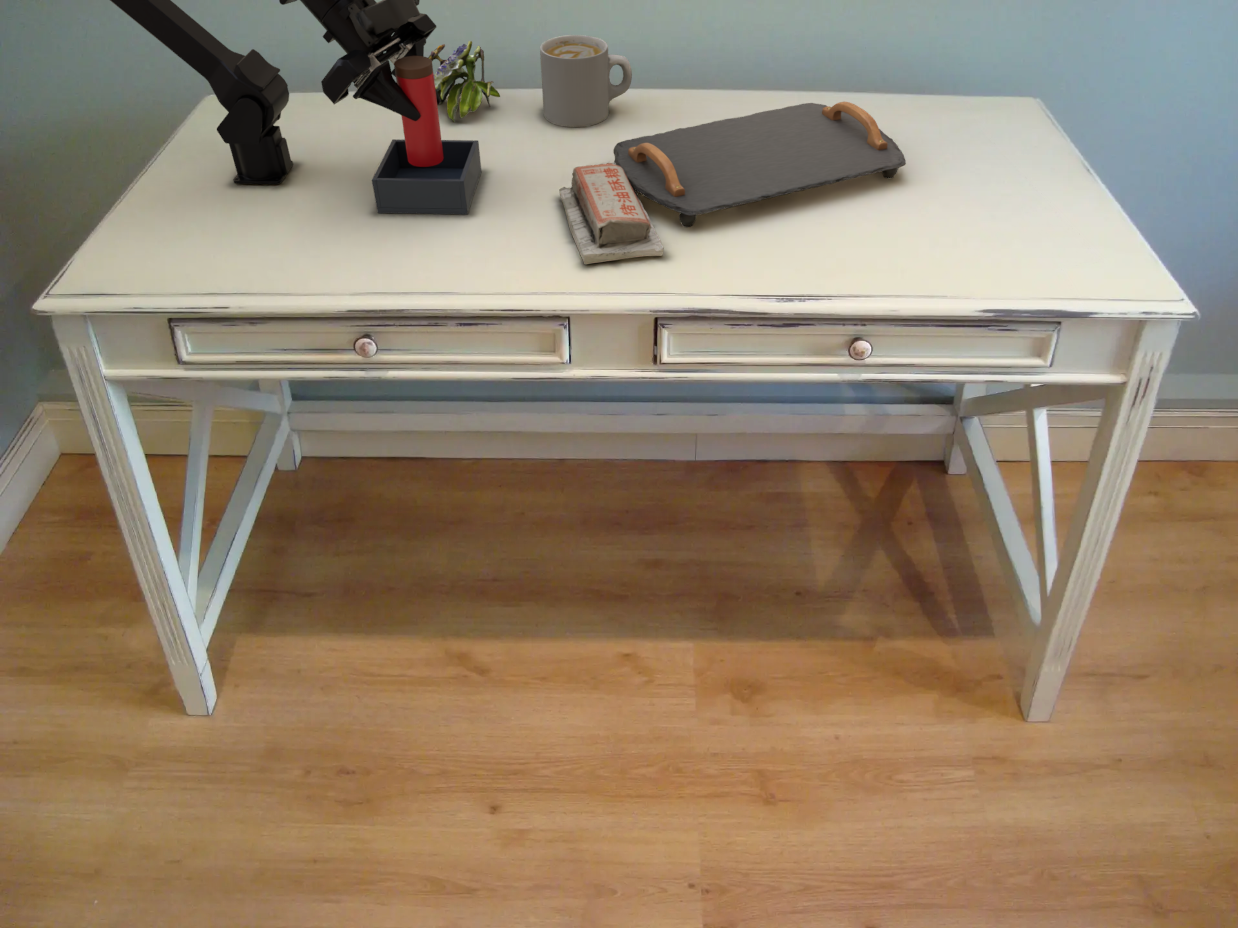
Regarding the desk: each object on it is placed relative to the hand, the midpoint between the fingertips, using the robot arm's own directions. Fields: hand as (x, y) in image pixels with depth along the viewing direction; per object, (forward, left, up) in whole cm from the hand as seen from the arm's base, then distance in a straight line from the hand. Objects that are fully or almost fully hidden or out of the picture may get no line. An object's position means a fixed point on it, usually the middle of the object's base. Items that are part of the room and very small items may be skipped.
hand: (428, 111), depth 128 cm
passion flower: (-1, +29, -11) cm, 31 cm away
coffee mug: (+18, +27, -11) cm, 34 cm away
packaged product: (+23, -8, -11) cm, 27 cm away
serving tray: (+42, +8, -11) cm, 44 cm away
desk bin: (-1, 0, -11) cm, 11 cm away
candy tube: (-1, 0, -7) cm, 7 cm away
